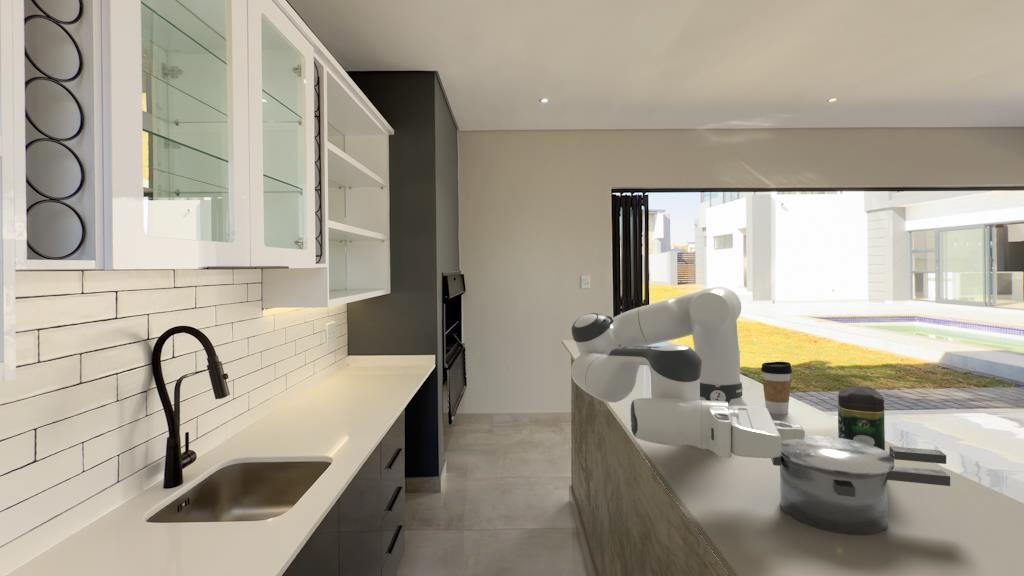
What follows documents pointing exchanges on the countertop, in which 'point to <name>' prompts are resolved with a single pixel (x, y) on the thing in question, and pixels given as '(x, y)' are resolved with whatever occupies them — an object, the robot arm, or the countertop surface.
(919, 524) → the countertop surface
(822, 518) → the pot
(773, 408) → the coffee cup
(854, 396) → the coffee jar
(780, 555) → the countertop surface
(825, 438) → the lid
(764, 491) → the countertop surface
